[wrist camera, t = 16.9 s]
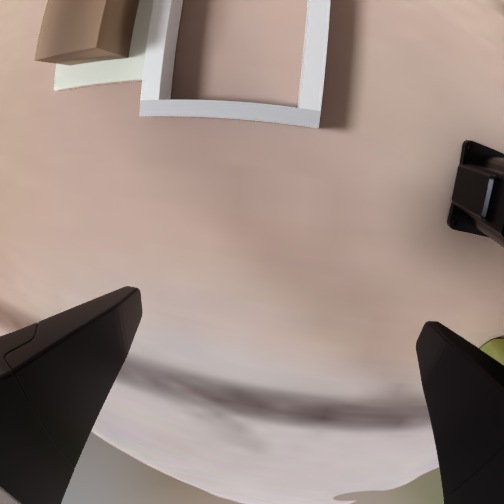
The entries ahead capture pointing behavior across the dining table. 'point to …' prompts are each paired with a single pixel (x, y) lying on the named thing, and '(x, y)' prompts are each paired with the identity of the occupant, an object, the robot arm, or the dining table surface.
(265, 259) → the dining table surface
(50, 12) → the block
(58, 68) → the coaster
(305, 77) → the channel
